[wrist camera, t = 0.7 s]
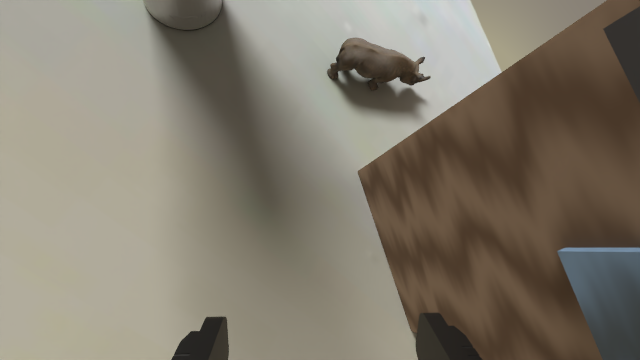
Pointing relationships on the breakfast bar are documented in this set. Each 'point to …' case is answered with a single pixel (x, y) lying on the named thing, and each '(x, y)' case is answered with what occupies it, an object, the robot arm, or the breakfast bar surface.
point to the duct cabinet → (525, 206)
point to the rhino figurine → (376, 63)
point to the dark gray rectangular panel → (627, 46)
